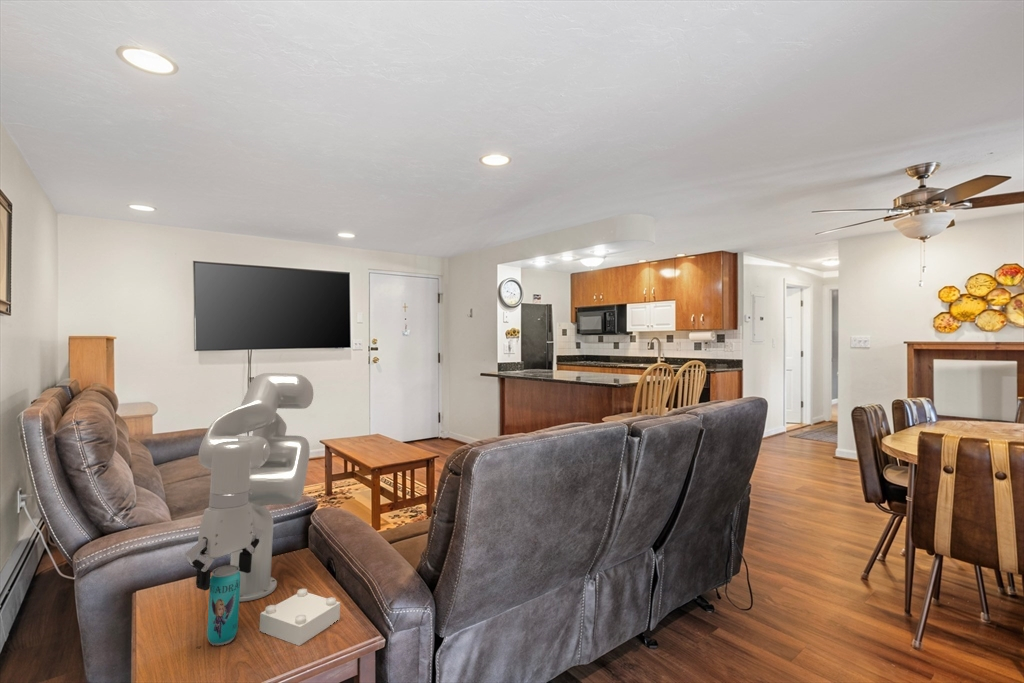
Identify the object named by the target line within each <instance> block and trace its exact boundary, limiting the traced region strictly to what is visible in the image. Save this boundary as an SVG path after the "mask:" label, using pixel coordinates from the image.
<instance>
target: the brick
mask: <svg viewBox="0 0 1024 683" xmlns="http://www.w3.org/2000/svg"><path fill="white" fill-rule="evenodd" d="M340 612H341V601H337V599H336V597H334V596H331V597H323V596H320V595H316V594H313V593H310V592H308V589H307V588H299V589H297V593H296V594H293V595H292V596H290V597H288V598H286V599H285V600H282V601H280V602H278V603H277V604H270V605H269V604H268V605H266V607H265V610H264V611H261V612H260V614H259V629H258V630H259V631H258V632H260V631H261V632H260V633H264V634H265V633H266V635H268V636H270V637H274V638H276V639H278V640H282V641H285V642H288V643H290V644H293V645H295V644H296V646H298V647H300V646H301V645H303V644H305V643H306V642H307V641H309V640H311V639H312V638H313V637H315V636H317V635H318V634H319V633H321V632H323V631H325V630H326V629H327V628H329V627H331V626H332V625H333V623H334V622H335V623H337V622H338V621H340V617H341V613H340ZM337 620H338V621H337ZM336 621H337V622H336ZM335 623H334V624H335ZM330 625H331V626H330Z"/></svg>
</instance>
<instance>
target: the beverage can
mask: <svg viewBox="0 0 1024 683" xmlns="http://www.w3.org/2000/svg"><path fill="white" fill-rule="evenodd" d="M211 574H212V575H210V588H209V596H208V611H207V613H208V614H207V615H208V616H207V629H206V630H207V631H206V636H207V639H208V642H209V643H210V645H211V644H212V646H214V645H221V646H224V644H225V645H228V644H230V643H232V641H233V640H234V639H235V637H236V636H237V632H238V629H239V627H238V626H239V615H240V614H239V611H240V610H239V609H240V602H239V596H240V577H241V574H240V572H239V567H238V566H235V565H230V564H226V565H222V566H218V567H217V568H215V569H213V570H212V571H211ZM227 643H228V644H227Z"/></svg>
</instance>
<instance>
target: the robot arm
mask: <svg viewBox="0 0 1024 683" xmlns="http://www.w3.org/2000/svg"><path fill="white" fill-rule="evenodd" d="M313 400H314V387H313V385H312V383H311V381H310V380H309V379H308V378H307V377H305V376H303V375H302V374H298V373H286V372H285V373H280V372H278V373H277V372H273V373H272V372H266V373H265V372H264V373H260V374H257V375H256V376H254V377H253V379H252V380H251V381H250V384H249V386H248V388H247V390H246V393H245V395H244V398H243V400H242V402H241V404H240V406H236V407H235V408H233V409H231V410H229V411H227V412H226V413H224V414H222V415H220V416H219V417H217V418H216V419H215V420H214V421H213V422H212V423H211V424H210V425H209V427H208V428H207V431H206V433H205V435H204V436H203V438H202V441H201V443H200V446H199V450H198V455H197V456H198V461H199V464H200V465H201V466H202V467H203V468H205V469H208V470H211V471H210V485H209V487H210V488H209V500H208V507H207V508H204V512H203V514H202V518H201V520H200V526H199V530H198V532H199V533H198V537H197V538H198V539H197V543H195V544H194V545H193V546H192V547H191V548H190V549H188V551H186V552H185V558H186V560H187V562H188V564H189V565H190V566H191V567H192V568H193V569H194V570H196V574H195V575H196V578H195V579H196V580H195V585H196V589H199V590H201V591H204V592H205V591H208V590H209V591H210V578H211V574H212V571H211V570H210V569H209V568H210V567H211V565H212V564H213V562H214V561H215V559H219V558H221V557H225V556H228V555H230V562H229V563H230V564H229V565H235V566H238V567H239V572H240V574H241V577H240V596H239V603H240V602H249V601H253V600H258V599H261V598H264V597H266V596H268V595H270V594H272V592H274V591H275V590H276V589H277V587H278V586H277V584H278V581H277V580H276V579H275V578H274V577H273V576H271V575H272V560H273V559H272V557H273V556H272V554H273V541H274V540H273V537H274V536H273V535H274V518H273V516H272V514H271V512H270V510H269V509H268V508H267V506H278V505H280V506H281V505H283V506H284V505H293V504H294V505H295V504H296V503H298V502H299V501H300V500H301V499H302V497H303V493H304V490H305V485H306V479H307V472H308V467H309V461H310V452H311V451H310V443H309V441H308V439H307V438H306V437H304V436H302V435H286V432H287V424H286V422H285V420H284V418H282V417H281V415H280V414H279V413H277V410H278V409H286V410H287V409H289V410H290V409H291V410H293V409H296V410H298V409H299V410H304V409H307V408H309V407H310V406H311V405H312V402H313ZM251 432H252V434H251V435H243V434H247V433H251ZM198 556H199V557H198Z"/></svg>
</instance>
